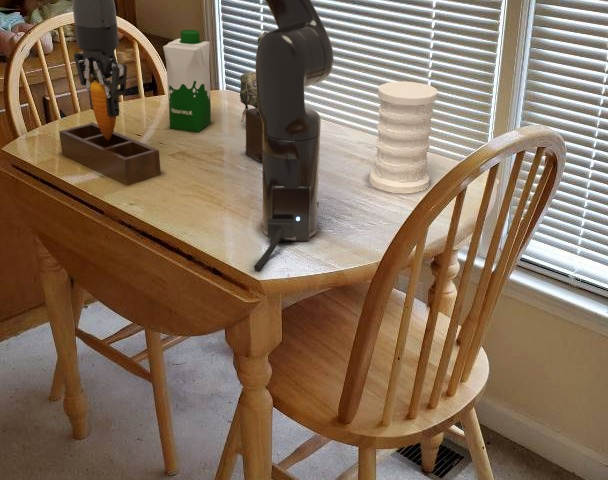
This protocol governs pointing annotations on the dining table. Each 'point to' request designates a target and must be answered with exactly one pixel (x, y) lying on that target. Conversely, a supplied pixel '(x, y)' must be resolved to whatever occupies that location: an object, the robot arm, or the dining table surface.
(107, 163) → the rack
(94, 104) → the carrot
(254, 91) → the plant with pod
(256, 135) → the manual coffee grinder
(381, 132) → the decorative container
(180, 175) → the dining table surface
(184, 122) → the milk carton
